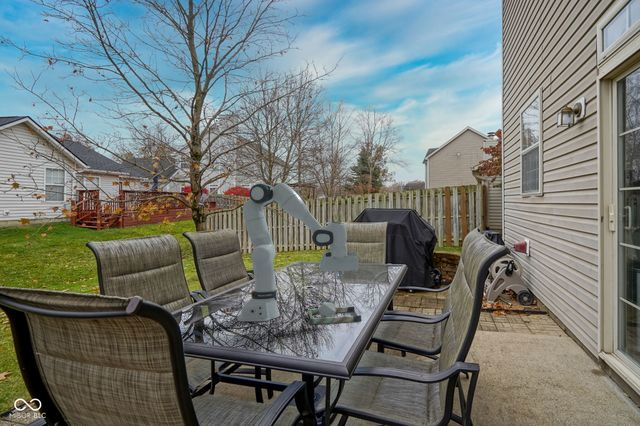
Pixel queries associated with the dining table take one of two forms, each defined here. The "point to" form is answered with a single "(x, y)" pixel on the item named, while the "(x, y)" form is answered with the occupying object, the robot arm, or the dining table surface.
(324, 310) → the die
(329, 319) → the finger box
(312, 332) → the dining table surface
